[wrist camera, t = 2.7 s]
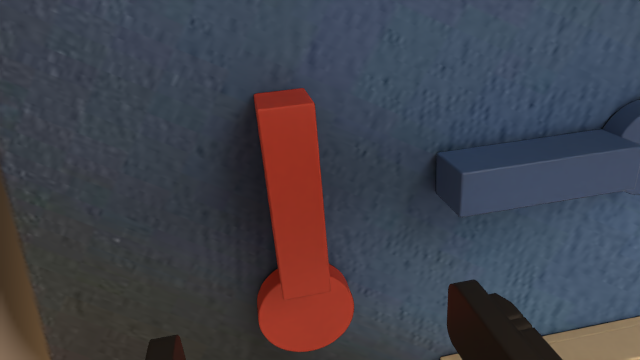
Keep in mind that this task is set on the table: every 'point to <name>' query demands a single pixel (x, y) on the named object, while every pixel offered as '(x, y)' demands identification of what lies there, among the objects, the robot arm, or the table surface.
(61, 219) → the table surface
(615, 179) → the blue spoon
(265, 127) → the red spoon
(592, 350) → the sorting tray
